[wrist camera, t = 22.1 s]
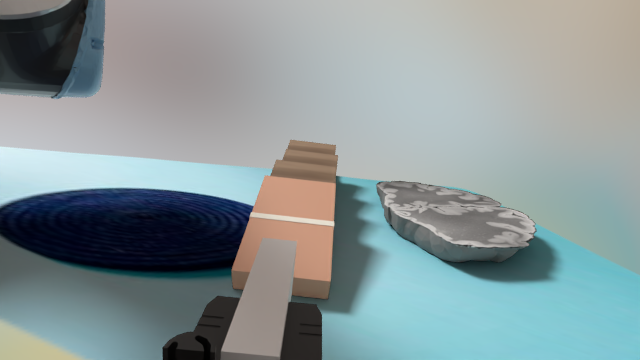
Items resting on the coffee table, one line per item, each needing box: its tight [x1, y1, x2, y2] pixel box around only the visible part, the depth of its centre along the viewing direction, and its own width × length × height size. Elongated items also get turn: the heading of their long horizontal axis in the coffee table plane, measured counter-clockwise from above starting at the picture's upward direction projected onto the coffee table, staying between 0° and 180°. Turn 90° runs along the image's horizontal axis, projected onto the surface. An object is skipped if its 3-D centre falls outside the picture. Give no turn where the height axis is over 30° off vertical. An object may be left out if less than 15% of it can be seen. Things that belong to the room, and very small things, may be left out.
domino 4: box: [283, 149, 338, 183], centre depth 43 cm, size 2×7×12 cm
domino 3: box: [288, 140, 336, 155], centre depth 49 cm, size 2×7×12 cm
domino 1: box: [271, 160, 336, 183], centre depth 36 cm, size 2×7×12 cm
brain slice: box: [376, 181, 536, 262], centre depth 41 cm, size 20×17×3 cm
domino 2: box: [231, 176, 336, 299], centre depth 30 cm, size 2×7×12 cm
